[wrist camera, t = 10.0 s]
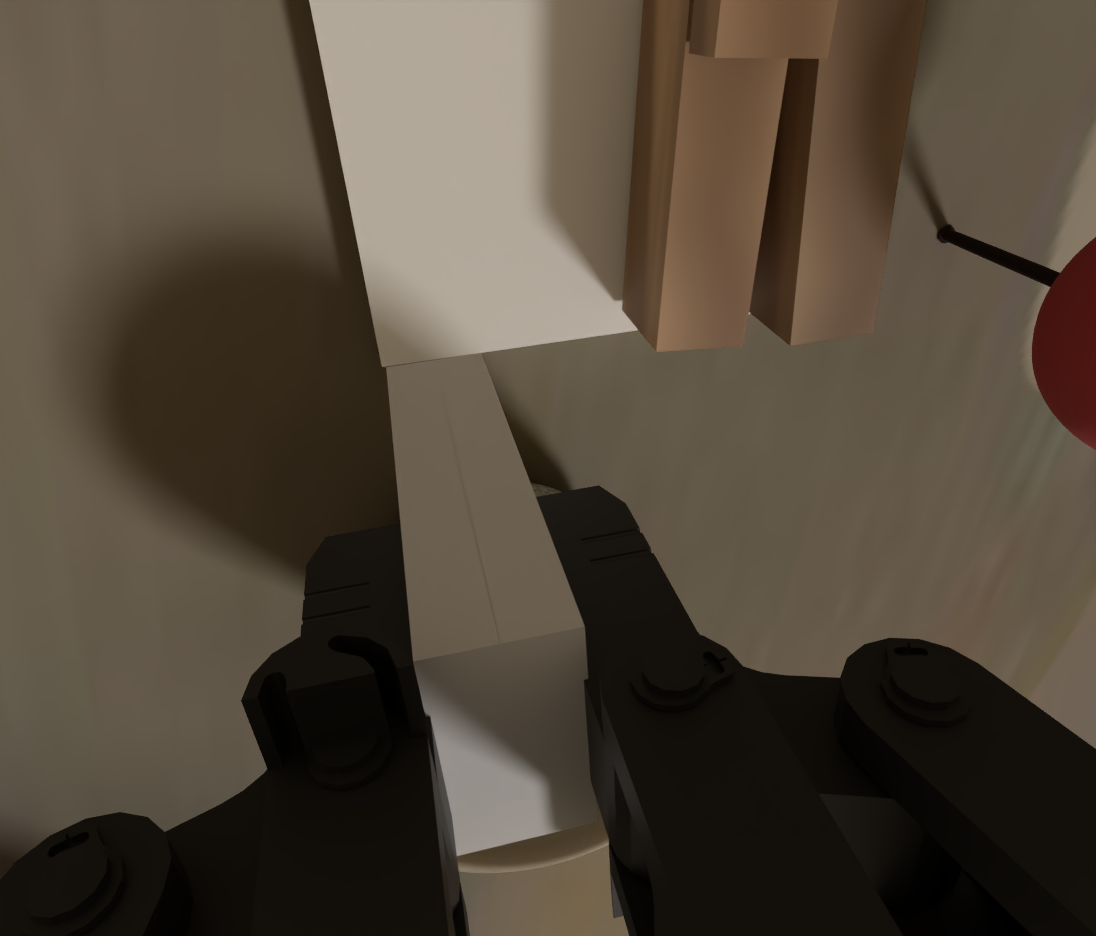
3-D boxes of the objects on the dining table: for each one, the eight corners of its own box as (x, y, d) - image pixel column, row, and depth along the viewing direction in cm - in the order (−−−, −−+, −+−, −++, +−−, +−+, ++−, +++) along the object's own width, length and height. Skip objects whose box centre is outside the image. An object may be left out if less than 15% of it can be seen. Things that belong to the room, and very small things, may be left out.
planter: (293, 602, 34) (267, 824, 25) (458, 385, 30) (499, 554, 21) (516, 694, 40) (561, 903, 31) (678, 521, 36) (784, 700, 27)
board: (381, 354, 29) (381, 367, 28) (270, -205, 21) (266, -215, 20) (808, 293, 31) (823, 303, 30) (865, -234, 23) (888, -245, 22)
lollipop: (827, 309, 32) (1129, 514, 19) (915, 110, 28) (1353, 201, 16) (975, 341, 34) (1331, 543, 22) (1073, 160, 31) (1566, 275, 18)
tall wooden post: (718, 293, 31) (795, 358, 25) (741, -196, 23) (860, -257, 17) (805, 282, 31) (898, 342, 26) (856, -202, 23) (1007, -264, 18)
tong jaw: (621, 310, 28) (680, 381, 23) (661, -259, 21) (764, -347, 15) (811, 300, 30) (907, 365, 25) (917, -238, 22) (1093, -312, 17)
